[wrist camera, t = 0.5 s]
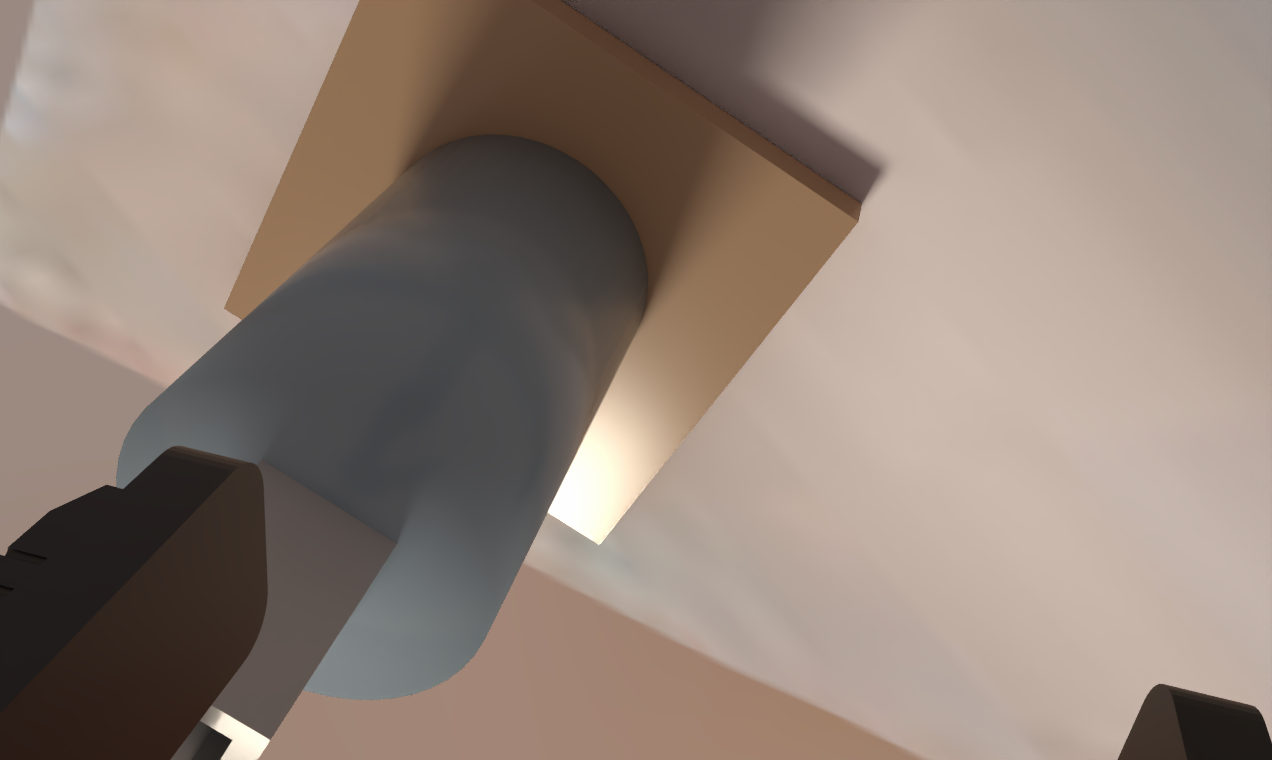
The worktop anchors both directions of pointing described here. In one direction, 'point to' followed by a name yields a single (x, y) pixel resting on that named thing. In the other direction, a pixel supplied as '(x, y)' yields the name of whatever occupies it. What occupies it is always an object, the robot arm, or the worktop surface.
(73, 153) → the worktop surface
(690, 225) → the soap dispenser
